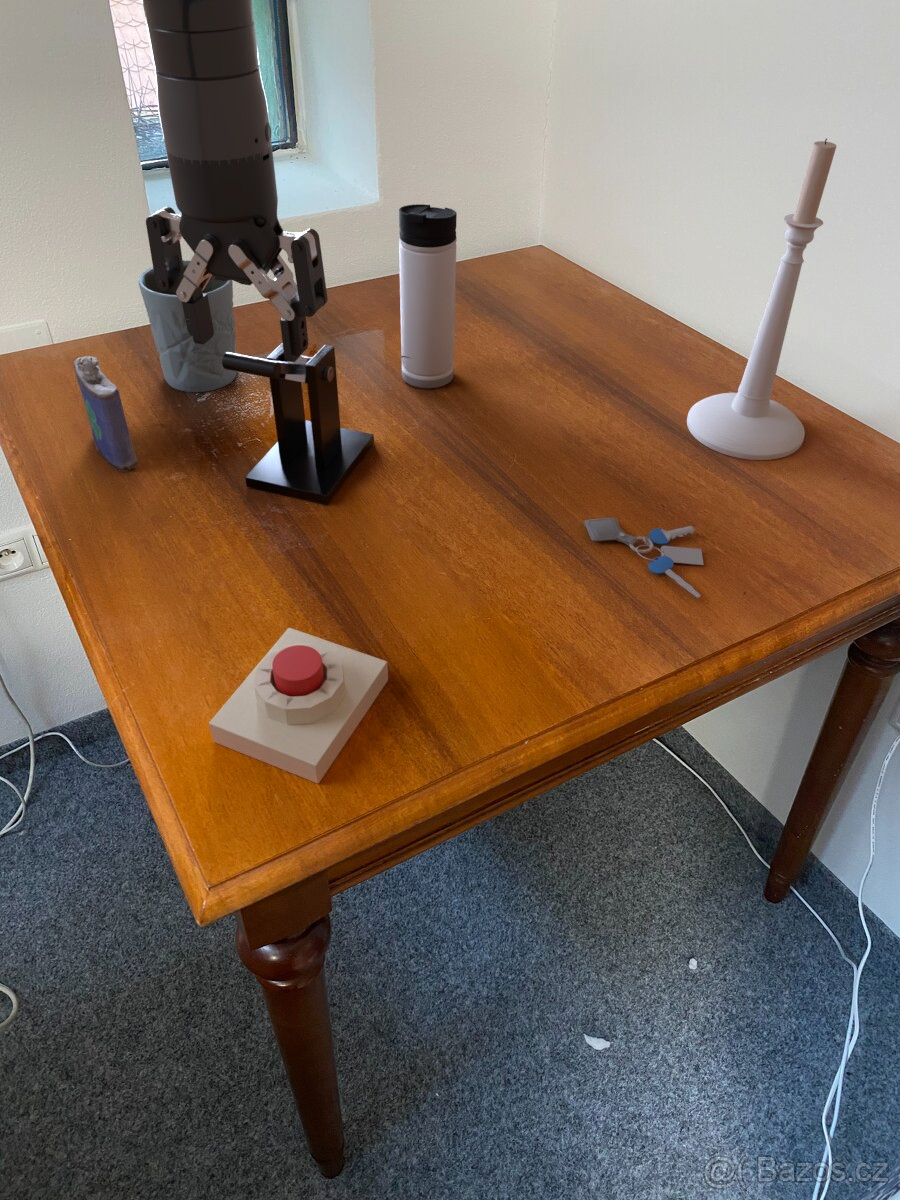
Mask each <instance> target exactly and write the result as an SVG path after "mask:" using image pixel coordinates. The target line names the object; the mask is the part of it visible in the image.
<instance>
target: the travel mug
mask: <svg viewBox="0 0 900 1200" xmlns="http://www.w3.org/2000/svg"><path fill="white" fill-rule="evenodd" d="M457 217H458V216H457V211H456V210H454V209H452V208H448V207H444V208H441V207H436V206H435V207H433V206H431V204H423V203H421V204H417V203H415V204H407V205H403V206H401V207H399V209H398V228H399V234H398V242H399V244H398V259H399V261H398V262H399V263H398V264H399V301H400V302H399V303H400V304H399V305H400V306H399V307H400V310H399V311H400V349H401V350H400V352H401V354H400V355H401V356H400V357H401V378H402V379H403V381H404V383H407V384H408V385H409V386H412V387H415V388H418V389H438V388H442V387H444V386H447V385H448V384H450V382H452V380H453V378H454V375H455V371H454V369H455V368H454V367H455V366H454V365H455V363H454V362H455V328H456V327H455V325H456V324H455V323H456V281H457V241H458V240H457V231H456V230H457V220H458V219H457Z"/></svg>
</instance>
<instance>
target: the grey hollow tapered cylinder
mask: <svg viewBox="0 0 900 1200" xmlns="http://www.w3.org/2000/svg"><path fill="white" fill-rule="evenodd" d="M182 260H183V268H184V272H185V270H186V268H187V267H188V265H189V263H190V261H191V259H182ZM137 282H138V286H139V290H140V293H141V296H142V297H141V298H142V300H143V304H144V307H145V309H146V313H147V317H148V321H149V325H150V331H151V335H152V338H153V339H154V341H153V342H154V345H155V349H156V351H157V353H158V354H159V363H160V367H161V370H162V373H163V377H164V380H165V381H166V384H167V385H168V386H170V387H171V388H172V389H175V390H178V391H181V392H186V393H204V392H211V391H216V390H218V389H222V388H223V387H225V386H227V385H230V383H232V382H233V381H234V380H235V379H236V377H237V375H238V371H233V370H228V369H225V368H224V367H223V365H222V358H223V355H224V354H225V353H226V352H229V353H235V354H237V343H236V330H235V328H236V323H235V314H234V312H233V309H234V301H233V299H234V285H233V280H228V281H220V280H215V276H213V275H212V276H211V278H210V280H209V281H208V283H207V285H206V286H205V288H204V290H202V293H206V294H208V300H209V306H210V312H211V317H212V323H213V329H214V335H213V337H212V338H211V339H210V340H209V341H207V342H206V343H205V344H198V343H195V342H194V341H193V336H190V334H189V332H188V330H187V326H186V321H185V316H184V311H183V306H182V301H181V300H179V298H178V297H177V295H176V294H175V293H173V292H171V291H169V290H167V291H162V290H160V289H159V288H158V287H157V285H156V282H155V276H154V270H153V266H152V267H149V268H148V269H146V270H144V271H143V272H142V273H141V274H140V275H139V277H138V280H137Z"/></svg>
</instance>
